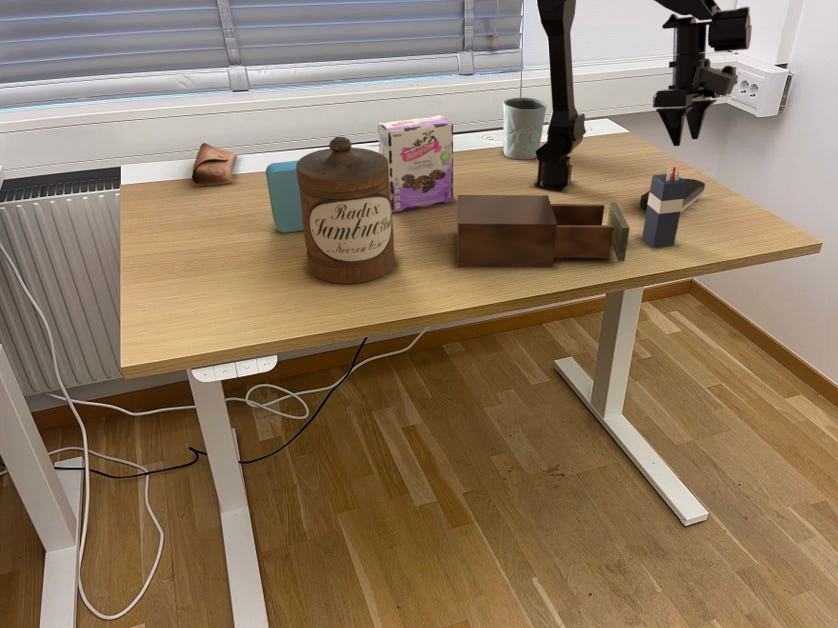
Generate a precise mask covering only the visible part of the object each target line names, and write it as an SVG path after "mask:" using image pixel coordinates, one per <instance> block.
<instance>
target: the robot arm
mask: <svg viewBox="0 0 838 628" xmlns="http://www.w3.org/2000/svg"><path fill="white" fill-rule="evenodd" d="M653 1H654V2H656V3H658V4H659V5H660V6H662V7H664V8H665V9H667V10H669V11H671V12H673V13H671V14H670V16H669V18H668V19H667V20H666V21H665V22H664V23H663V24H662V25H661V28H662V29H664V30H668V29H669V30H670V29H673V41H672V42H673V43H672V44H673V45H672V49H673V50H672V61H668V69H671V68H672V80H671V81H672V82H671V83H672V84H670V85H668V86H667V88H668V89H666V88H665V89H660V90H657V91H656V92H655V94H654V95H653V96H652V108H656V109H655V112H657V113H658V115H659V117H660V119H661V122H662V123H663V125H664V127H665V129H666V131H667V134H668V136H669V138H670V140H671V143H672V145H673V146H674V147H680V146H681V142H682V136H683V131H684V125H685V118H686V123H687V126H688V130H689V134H690V137H691V139H692V140H698V139H699V137H700V133H701V130H702V127H703V124H704V120H705V116H706V114H707V112H708V110H709V108H710V107H712V105H714V104H715V103H716V102H717V101H718V98H721V96H722V97H726V96H727V95H732V92H733V89H734V87H735V85H737V84H738V77H739V75H737V67H735V66H732V65H725V66H723V68H721V69H719V68H715V67H711V60H710V58H708V57H707V58H706V54H707V53H706V52H707V51H706V50H707V45H708V46H709V47H710V49H713V51H714V52H715V53H719V52H733V51H745V50H749V48H750V45H751V39H752V29H753V27H752V24H751V15H750V11H751V10H750V6H742V7H738V8H734V9H733V8H732V9H725V10H722V9H721V7H720V6H719V5H718V3H717V2H716V1H715V0H653ZM535 4H536V8H537V14H538V17H539V21H540V24H541V26H542V28H543V31H544V32H545V35H546V41H547V53H548V69H549V79H550V81H549V83H550V95H551V114H550V119H549V122H548V126H547V136H546V137H547V138H546V142H544V144H542V145H540V148H539V149H537V150H536V156H537V157H536V159H537V161H538V163H537V176H536V177H537V179H536V182H534V187H536V188H541V189H547V190H553V191H557V192H558V191H559V192H563V191H564V190H565V189H566V188H567V187H568V186H569V185H570V184H571V182H572V173H573V164H572V163H571V155H570V154H572V153H573V151H574V150H576V148H577V147H579V145H581V143H582V142H583V139H584V135H585V134H586V133H587V130H586V127H585V121H586V120H585V119H586V115H585V113H580V114H579V112H578V110H577V108H576V106H575V91H574V73H573V57H572V38H571V31H572V27H573V23H574V20H575V15H576V7H577V0H535ZM677 14H678V15H679V16H683V17H679V16H678V15H677ZM696 19H697V20H698V21H700V22H697V20H696ZM707 26H708V27H707ZM711 98H712V99H711Z"/></svg>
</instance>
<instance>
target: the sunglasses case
mask: <svg viewBox="0 0 838 628" xmlns="http://www.w3.org/2000/svg"><path fill="white" fill-rule="evenodd" d="M237 158H238V154H236V153H234V152H232V151H228V150H224V149H221V148H217V147H214V146H212V145H210V144H208V143H205V142H203V143H201V144H200V147H199V150H198V152H197V155H196V158H195V161H194V163H193V168H192V171H191V180H192V182H193V183H194V184H195V185H197V186H198V187H204V186H205V187H210V186H211V187H212V186H222V185H223V186H224V185H228V184H232V183H233V181H234V179H233V171H234V166H235V162H236V160H237Z"/></svg>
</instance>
